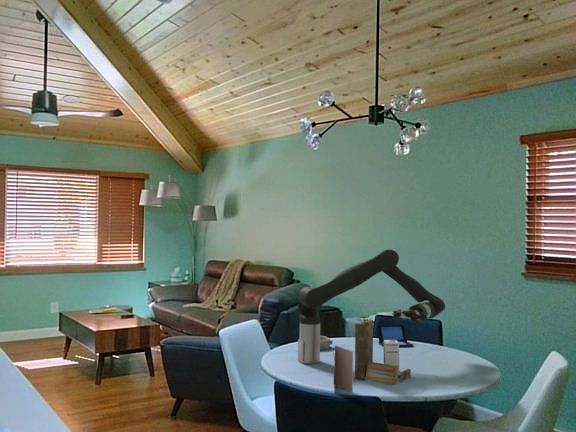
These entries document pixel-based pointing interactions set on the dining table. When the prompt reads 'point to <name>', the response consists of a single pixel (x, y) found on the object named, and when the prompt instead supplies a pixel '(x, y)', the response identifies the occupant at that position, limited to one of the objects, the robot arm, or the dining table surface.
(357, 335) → the walnut rack
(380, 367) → the offcut stack
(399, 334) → the handheld game console
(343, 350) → the greeting card
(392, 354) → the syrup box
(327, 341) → the dish
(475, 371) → the dining table surface
